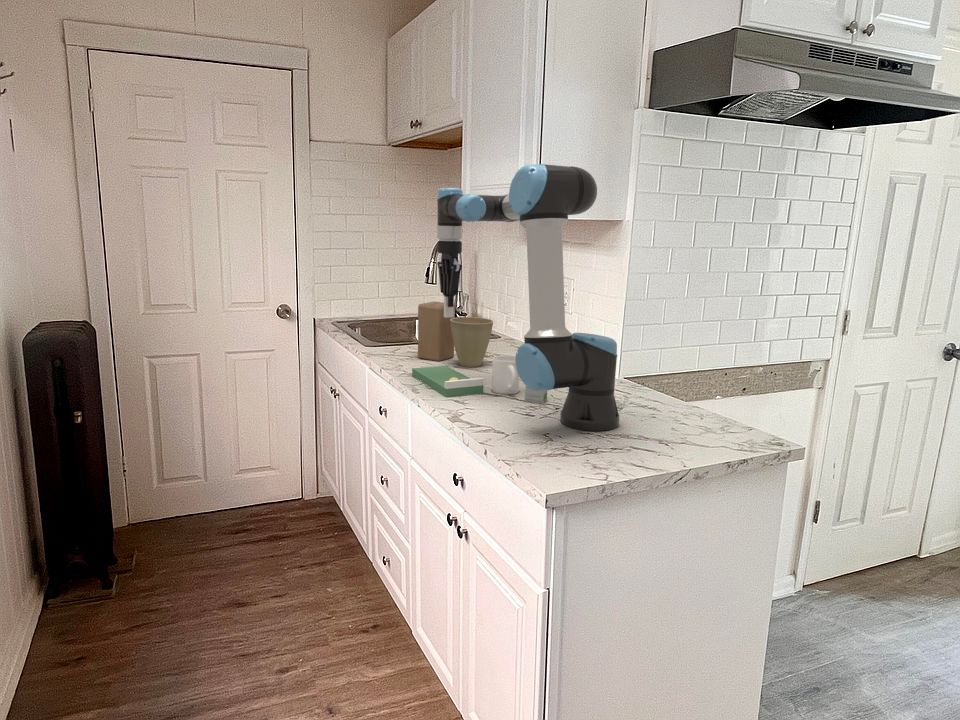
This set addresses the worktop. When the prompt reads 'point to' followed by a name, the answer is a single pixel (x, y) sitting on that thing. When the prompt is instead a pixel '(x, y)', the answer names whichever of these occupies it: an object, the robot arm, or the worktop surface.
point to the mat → (440, 381)
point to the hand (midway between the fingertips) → (448, 316)
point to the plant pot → (471, 339)
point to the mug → (504, 375)
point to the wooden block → (434, 332)
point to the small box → (535, 395)
